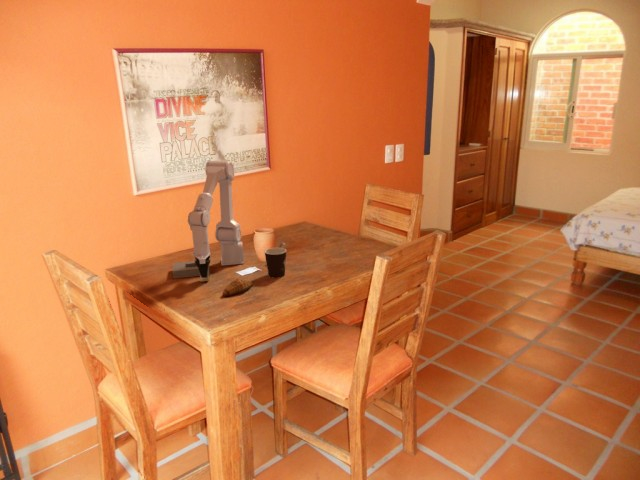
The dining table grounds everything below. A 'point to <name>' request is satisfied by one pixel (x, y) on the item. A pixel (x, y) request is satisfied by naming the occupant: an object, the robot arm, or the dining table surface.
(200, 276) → the peg
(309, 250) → the dining table surface
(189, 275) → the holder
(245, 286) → the croissant
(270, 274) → the coffee mug
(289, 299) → the dining table surface
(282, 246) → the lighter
